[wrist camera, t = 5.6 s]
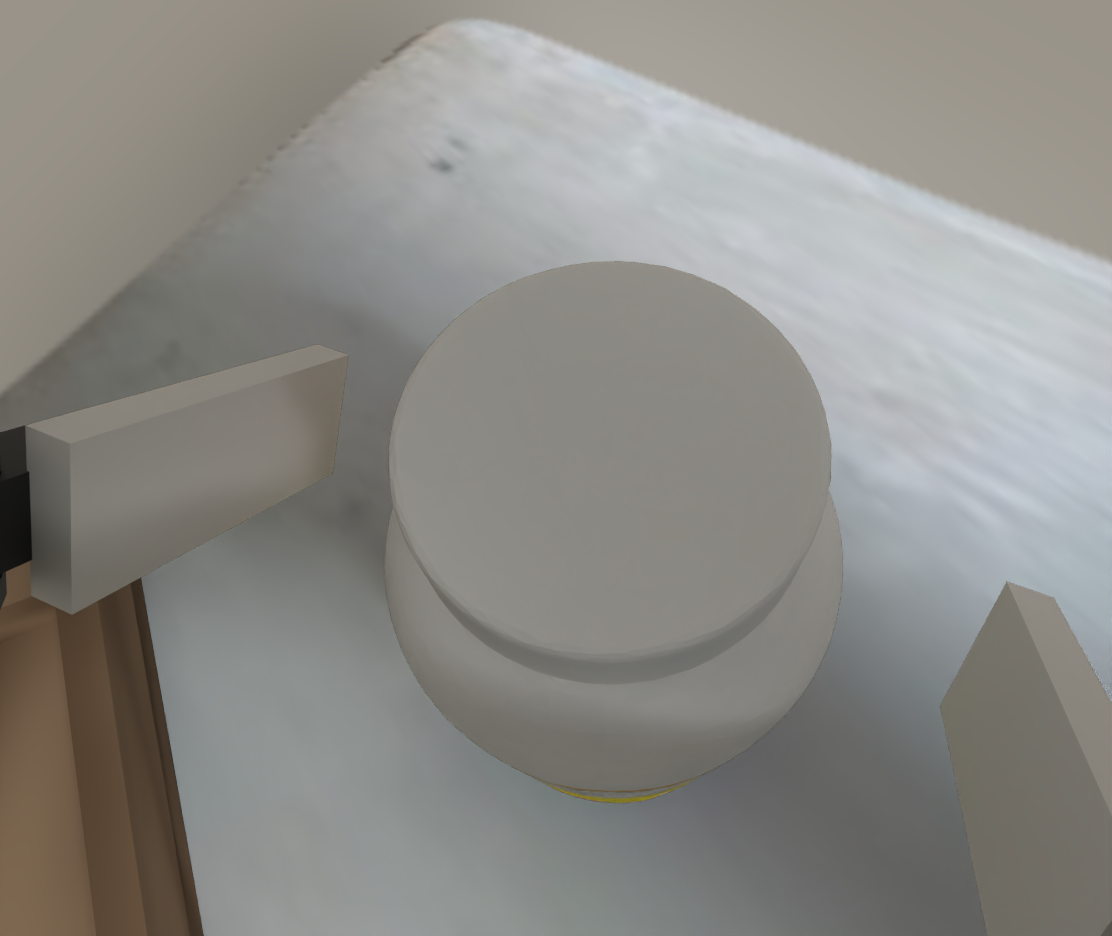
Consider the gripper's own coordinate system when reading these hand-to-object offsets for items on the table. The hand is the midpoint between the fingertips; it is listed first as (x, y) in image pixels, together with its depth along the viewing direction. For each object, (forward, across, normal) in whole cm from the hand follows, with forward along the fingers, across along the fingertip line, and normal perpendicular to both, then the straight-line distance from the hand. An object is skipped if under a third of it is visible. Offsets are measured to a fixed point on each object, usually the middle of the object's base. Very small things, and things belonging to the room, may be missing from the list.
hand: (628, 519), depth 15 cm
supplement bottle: (+3, 0, -6) cm, 6 cm away
